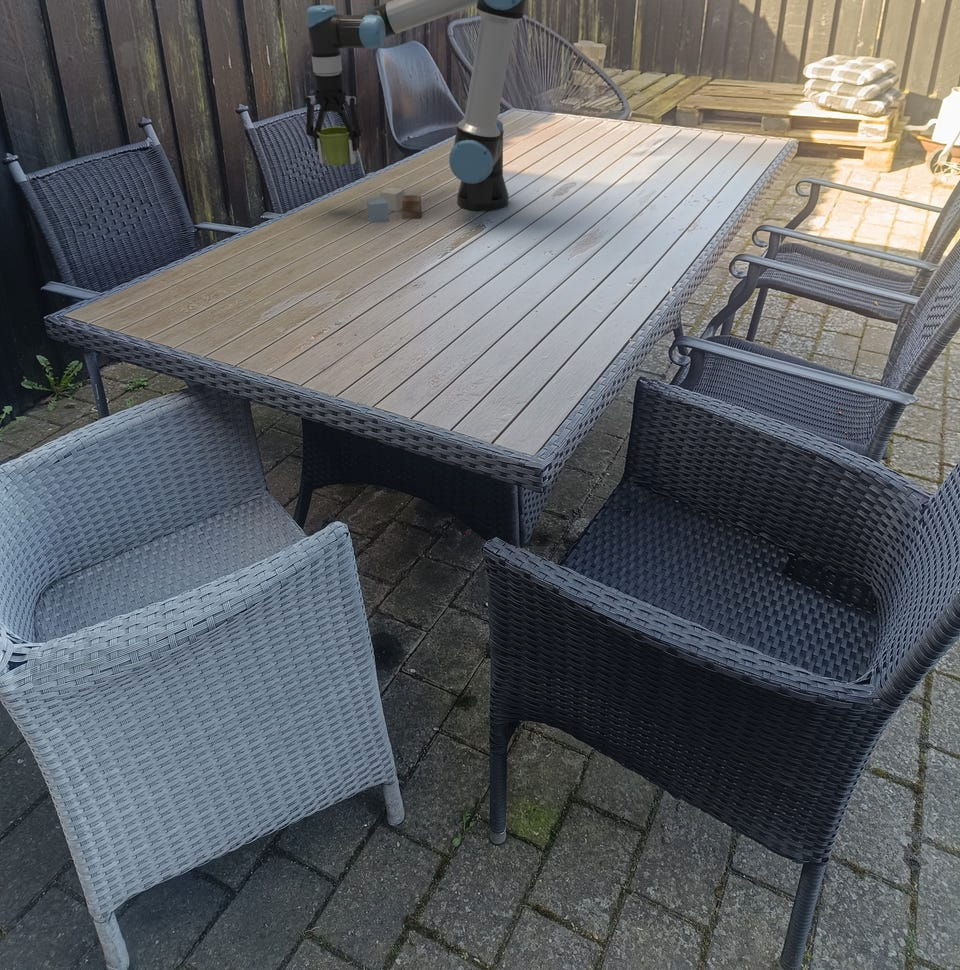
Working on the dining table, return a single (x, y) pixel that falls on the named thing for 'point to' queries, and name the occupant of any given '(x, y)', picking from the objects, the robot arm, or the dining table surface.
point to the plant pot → (335, 145)
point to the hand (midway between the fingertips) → (338, 162)
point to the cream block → (393, 198)
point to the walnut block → (411, 206)
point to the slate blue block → (377, 209)
